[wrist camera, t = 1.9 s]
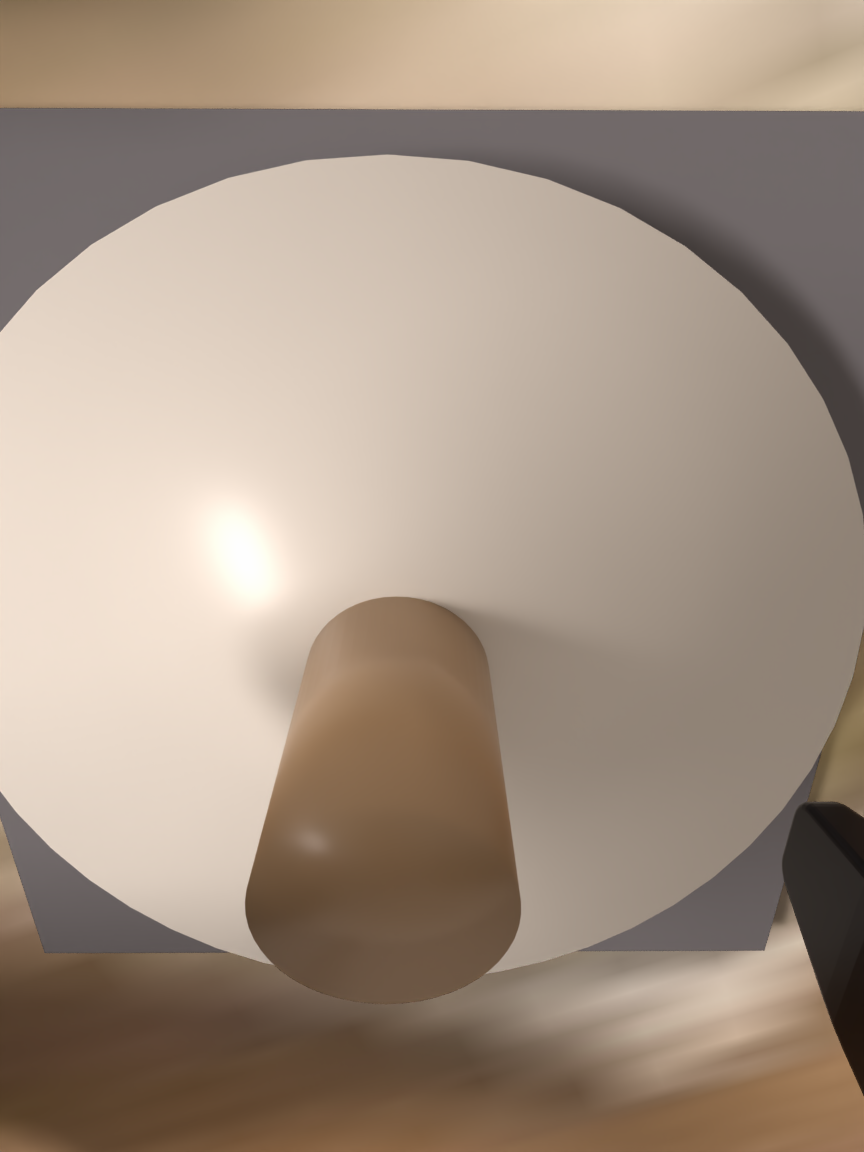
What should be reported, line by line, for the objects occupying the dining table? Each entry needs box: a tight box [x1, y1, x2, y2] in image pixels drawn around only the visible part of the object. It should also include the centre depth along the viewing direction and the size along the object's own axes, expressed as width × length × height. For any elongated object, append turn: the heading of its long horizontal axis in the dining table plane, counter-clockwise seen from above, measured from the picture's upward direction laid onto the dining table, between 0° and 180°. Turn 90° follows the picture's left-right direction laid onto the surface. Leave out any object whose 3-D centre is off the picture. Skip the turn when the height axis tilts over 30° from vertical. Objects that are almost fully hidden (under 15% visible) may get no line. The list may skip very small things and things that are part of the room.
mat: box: [0, 108, 864, 953], centre depth 12 cm, size 14×14×1 cm
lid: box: [0, 154, 864, 1004], centre depth 9 cm, size 13×13×5 cm
